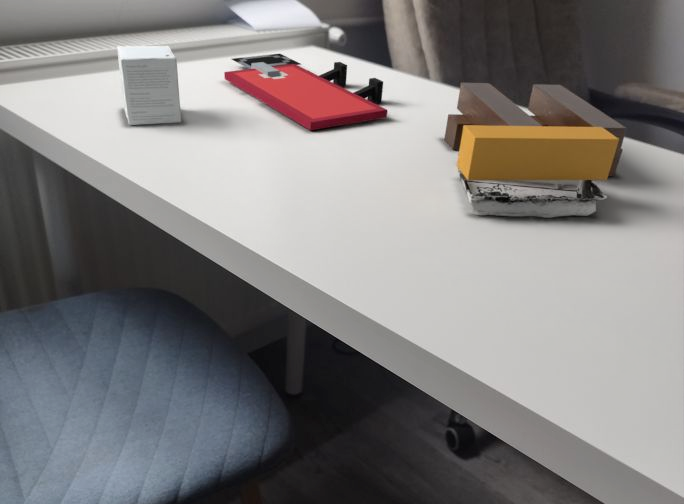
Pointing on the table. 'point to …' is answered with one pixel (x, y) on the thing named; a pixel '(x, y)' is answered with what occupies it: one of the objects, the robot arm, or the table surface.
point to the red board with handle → (307, 91)
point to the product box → (149, 84)
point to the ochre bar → (536, 153)
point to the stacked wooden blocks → (545, 103)
